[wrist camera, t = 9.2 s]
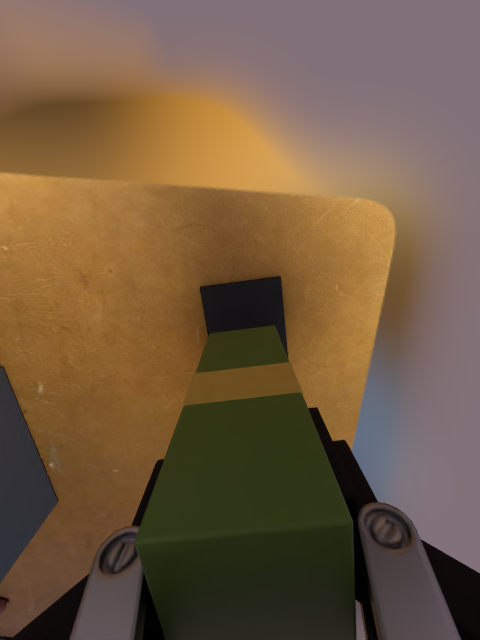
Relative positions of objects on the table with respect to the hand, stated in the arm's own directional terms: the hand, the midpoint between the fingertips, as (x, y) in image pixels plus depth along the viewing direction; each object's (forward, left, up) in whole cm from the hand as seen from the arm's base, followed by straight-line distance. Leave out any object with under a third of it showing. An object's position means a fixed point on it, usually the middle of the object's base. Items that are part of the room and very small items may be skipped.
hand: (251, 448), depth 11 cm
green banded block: (0, 0, -7) cm, 7 cm away
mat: (0, 0, -15) cm, 15 cm away
